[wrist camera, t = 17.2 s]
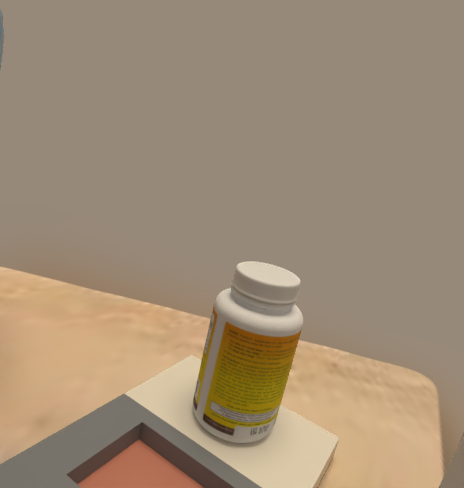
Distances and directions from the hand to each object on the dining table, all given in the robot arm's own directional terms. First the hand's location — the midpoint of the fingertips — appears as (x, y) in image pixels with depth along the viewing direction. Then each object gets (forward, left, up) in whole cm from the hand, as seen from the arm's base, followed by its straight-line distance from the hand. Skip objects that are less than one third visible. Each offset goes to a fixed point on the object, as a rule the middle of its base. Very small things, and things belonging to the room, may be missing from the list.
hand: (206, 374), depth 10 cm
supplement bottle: (-8, +9, -11) cm, 16 cm away
